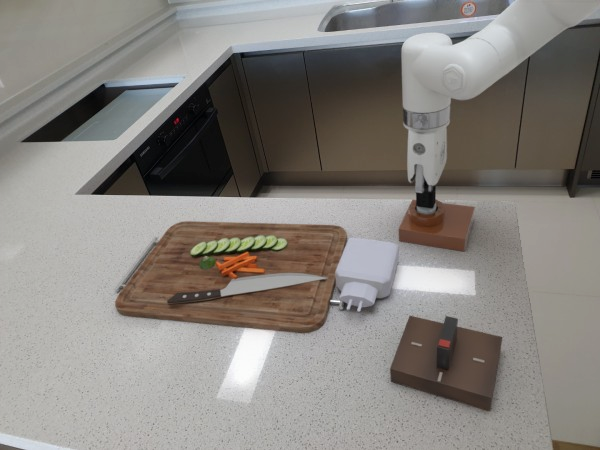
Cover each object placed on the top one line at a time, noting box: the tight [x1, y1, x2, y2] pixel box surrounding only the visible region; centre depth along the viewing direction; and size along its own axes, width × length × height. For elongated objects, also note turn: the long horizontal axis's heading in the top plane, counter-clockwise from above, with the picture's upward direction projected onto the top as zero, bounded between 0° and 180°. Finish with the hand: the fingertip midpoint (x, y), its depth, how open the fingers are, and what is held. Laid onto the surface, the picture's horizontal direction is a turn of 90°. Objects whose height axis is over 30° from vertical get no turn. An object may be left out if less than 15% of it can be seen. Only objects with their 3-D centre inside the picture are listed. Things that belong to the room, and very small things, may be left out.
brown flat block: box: [389, 315, 503, 412], centre depth 64 cm, size 13×10×3 cm
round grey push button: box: [417, 203, 436, 215], centre depth 87 cm, size 4×4×2 cm
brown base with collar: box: [398, 198, 476, 252], centre depth 87 cm, size 12×10×5 cm
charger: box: [335, 237, 400, 313], centre depth 78 cm, size 5×9×15 cm
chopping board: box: [114, 220, 348, 334], centre depth 88 cm, size 45×27×3 cm, turn 75°
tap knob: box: [436, 315, 459, 370], centre depth 62 cm, size 6×2×4 cm, turn 154°
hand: (425, 204), depth 87 cm, fingers closed
